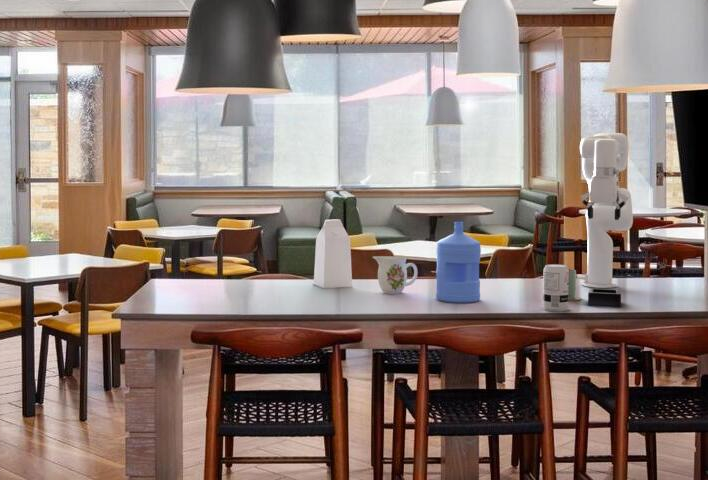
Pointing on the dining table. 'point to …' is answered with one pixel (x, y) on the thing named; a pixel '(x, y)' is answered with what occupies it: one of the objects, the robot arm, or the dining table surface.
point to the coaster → (575, 299)
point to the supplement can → (555, 287)
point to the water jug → (458, 267)
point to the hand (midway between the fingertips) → (603, 219)
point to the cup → (572, 284)
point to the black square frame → (604, 297)
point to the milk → (333, 256)
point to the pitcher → (393, 273)
